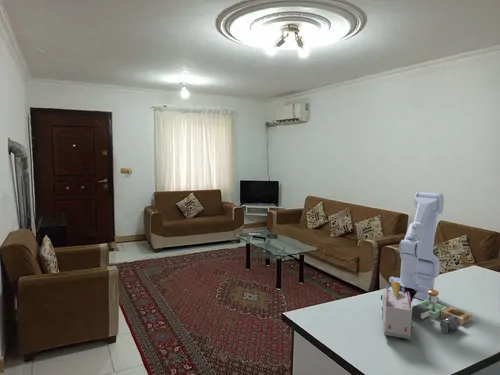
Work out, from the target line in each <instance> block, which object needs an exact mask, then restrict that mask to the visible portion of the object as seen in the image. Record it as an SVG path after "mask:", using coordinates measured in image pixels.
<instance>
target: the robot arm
mask: <svg viewBox="0 0 500 375" xmlns="http://www.w3.org/2000/svg"><path fill="white" fill-rule="evenodd" d="M444 198H445V197H444V195H443V193H440V192H439V193H437V192H424V191H416V193H415V194H414V197H413V203H414V207H415V210H416V211H415V215H414V219H413V222H412V223H410V224H409V225H408V227H407V230H406V234H405V236H404V239H401V241H400V242H399V246H398V247H399V248H398V251H399V258H400V260H401V261H400V277H395V276H390V277H388V278H389V280H388V281H389V283H392V282H393V281H397V282H399V283H400V285H401V286H400V290H399V291H401V292H403V291H402V290H401V288H405V290H404V292H406V293H407V296H408V292H409V294H410V297H411V303H412V302H413V299H414V298H416V299H419V300H422V301H425V300H427V296H428V294H429V289H432V290H435V279H436V278H438V277H439V275H440V270H441V269H440V268H441V264H440V259H439V258H438V257H437V256H436V255H435V254H434V244H435V237H436V228H437V218H438V216H439V215H441V214H443V210H444V202H445V199H444ZM438 298H439V297H438V296H437V299H438Z"/></svg>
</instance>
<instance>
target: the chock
mask: <svg viewBox="0 0 500 375" xmlns="http://www.w3.org/2000/svg"><path fill="white" fill-rule="evenodd" d="M429 309H430V308H428V307H425V306H422V305H420V304H418V305H416V306H414V305H413V306H411V310H412V314H411V319H415V320H417V321H419V322H422V323H423V322H425V321H427V320H428V319H430V317H429V311H430V310H429Z"/></svg>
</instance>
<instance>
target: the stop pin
mask: <svg viewBox="0 0 500 375" xmlns="http://www.w3.org/2000/svg"><path fill="white" fill-rule="evenodd" d="M439 294H440V292H439V291H438V290H436V289H434V290H432V289H429V294H428V296H427V307H428V308H430V309H429V310H430V311H432V312H436V307H437V304H438V298H437V297H438V296H439Z"/></svg>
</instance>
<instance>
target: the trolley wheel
mask: <svg viewBox="0 0 500 375" xmlns="http://www.w3.org/2000/svg"><path fill="white" fill-rule="evenodd" d="M439 326H440V332H441V333H443V334H446V335H449V333H451V332H453V331H455V330H457V329H459V328H460V326H461V325H460V322H459V317H457V316H454V315H451V317H448V318H446V319H444V318H443V319H442V320H441V321H440V322H439Z"/></svg>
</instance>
